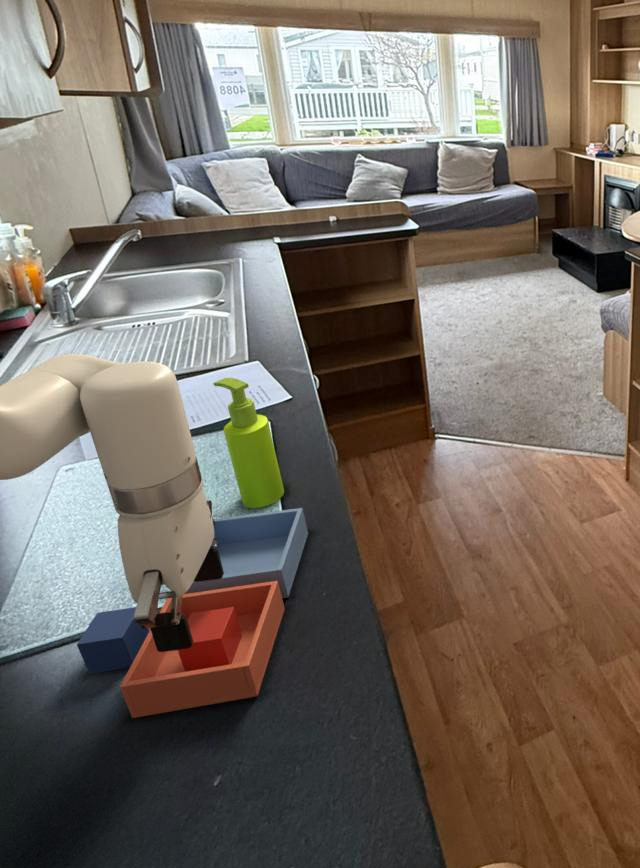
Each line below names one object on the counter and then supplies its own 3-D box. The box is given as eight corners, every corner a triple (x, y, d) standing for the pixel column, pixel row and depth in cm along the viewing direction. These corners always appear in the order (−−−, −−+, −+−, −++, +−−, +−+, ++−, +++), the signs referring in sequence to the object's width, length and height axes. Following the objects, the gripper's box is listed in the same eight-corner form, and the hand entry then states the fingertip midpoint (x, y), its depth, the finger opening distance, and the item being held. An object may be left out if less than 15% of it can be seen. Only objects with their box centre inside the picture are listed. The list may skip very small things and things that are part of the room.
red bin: (132, 718, 68) (119, 687, 66) (177, 625, 79) (167, 596, 77) (257, 696, 70) (248, 665, 68) (285, 608, 81) (277, 580, 79)
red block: (186, 675, 72) (175, 645, 70) (200, 641, 76) (191, 613, 74) (230, 668, 72) (220, 638, 71) (242, 635, 76) (233, 606, 75)
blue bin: (183, 613, 80) (173, 585, 79) (216, 545, 91) (208, 519, 90) (288, 597, 83) (281, 569, 81) (308, 533, 94) (302, 507, 92)
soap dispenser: (262, 479, 106) (235, 369, 98) (292, 490, 103) (267, 378, 95) (229, 500, 101) (198, 386, 93) (260, 512, 98) (230, 396, 90)
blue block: (88, 674, 72) (76, 644, 71) (108, 641, 77) (97, 612, 75) (133, 666, 73) (122, 637, 72) (150, 634, 77) (140, 606, 76)
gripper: (151, 439, 72) (185, 559, 79) (67, 546, 56) (118, 686, 63) (225, 433, 73) (252, 552, 80) (162, 536, 58) (203, 674, 64)
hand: (193, 611), depth 71 cm, fingers open, 9 cm apart
